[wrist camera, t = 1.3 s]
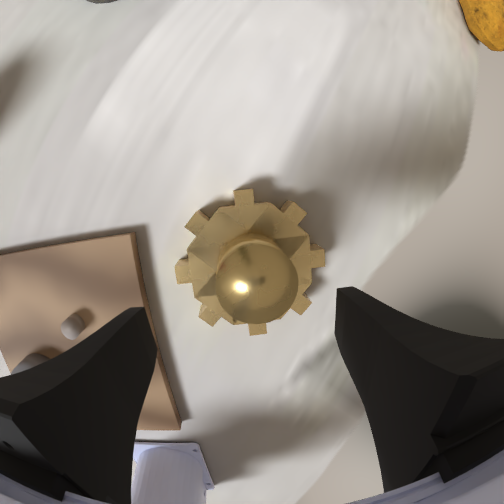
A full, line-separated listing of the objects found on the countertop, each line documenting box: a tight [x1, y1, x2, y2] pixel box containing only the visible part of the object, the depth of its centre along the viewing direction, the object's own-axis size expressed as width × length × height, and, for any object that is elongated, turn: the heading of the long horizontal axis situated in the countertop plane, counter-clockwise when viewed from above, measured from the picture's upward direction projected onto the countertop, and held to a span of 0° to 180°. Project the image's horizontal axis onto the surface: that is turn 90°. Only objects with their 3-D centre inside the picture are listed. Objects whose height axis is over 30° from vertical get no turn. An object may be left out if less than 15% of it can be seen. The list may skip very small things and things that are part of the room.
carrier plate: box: [0, 232, 182, 430], centre depth 20 cm, size 18×18×4 cm
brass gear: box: [175, 189, 325, 336], centre depth 18 cm, size 10×10×6 cm
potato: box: [459, 0, 504, 51], centre depth 14 cm, size 8×14×7 cm, turn 158°
